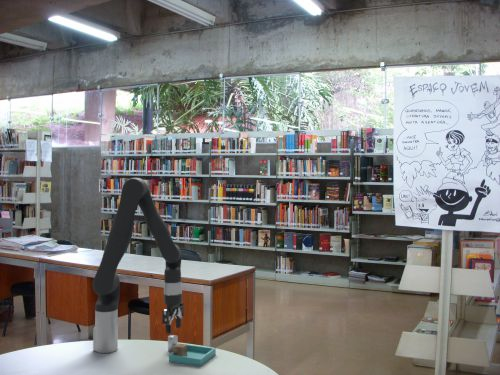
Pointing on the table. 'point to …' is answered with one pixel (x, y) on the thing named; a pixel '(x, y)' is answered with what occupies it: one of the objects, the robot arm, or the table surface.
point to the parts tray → (194, 355)
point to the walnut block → (180, 349)
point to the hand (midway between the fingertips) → (173, 330)
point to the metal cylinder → (172, 342)
